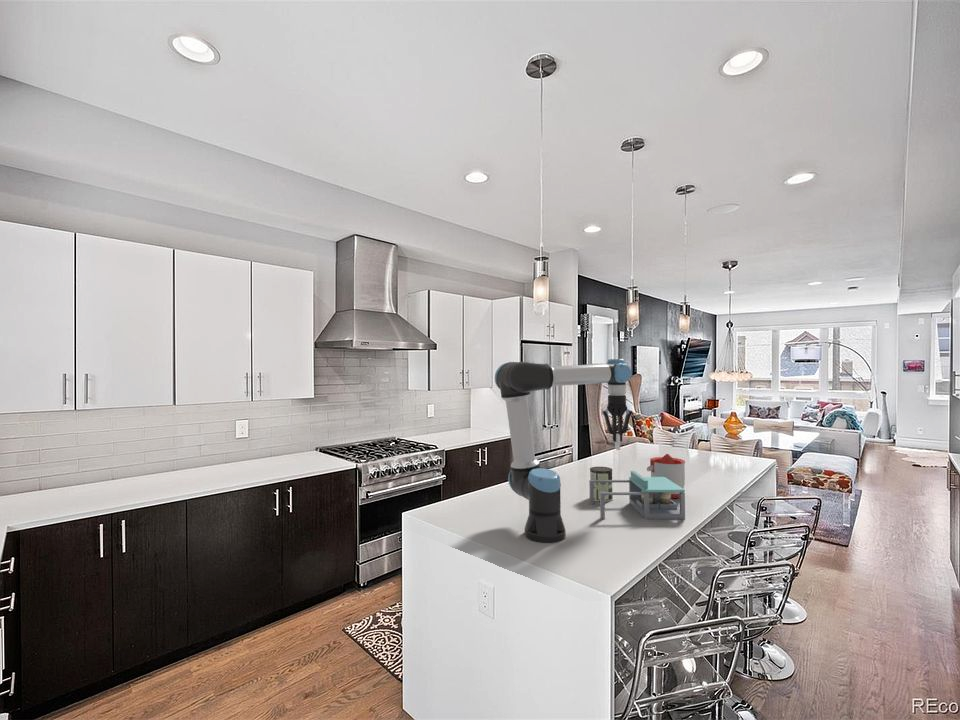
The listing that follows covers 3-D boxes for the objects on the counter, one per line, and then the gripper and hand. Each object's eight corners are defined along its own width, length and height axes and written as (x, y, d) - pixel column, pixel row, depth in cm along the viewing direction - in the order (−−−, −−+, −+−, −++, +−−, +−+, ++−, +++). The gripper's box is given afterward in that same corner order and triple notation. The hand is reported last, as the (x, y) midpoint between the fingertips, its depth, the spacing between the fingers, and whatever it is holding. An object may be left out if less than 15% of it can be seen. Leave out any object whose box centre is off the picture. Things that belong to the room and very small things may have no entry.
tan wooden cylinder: (672, 508, 198) (672, 489, 199) (661, 508, 199) (661, 489, 199) (668, 504, 203) (668, 486, 203) (658, 504, 203) (657, 486, 203)
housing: (685, 518, 191) (684, 492, 191) (601, 519, 191) (600, 493, 191) (664, 502, 213) (664, 479, 213) (589, 503, 213) (589, 480, 213)
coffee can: (603, 494, 227) (603, 465, 227) (617, 500, 217) (617, 469, 217) (585, 497, 223) (585, 467, 223) (598, 503, 213) (598, 472, 214)
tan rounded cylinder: (643, 508, 199) (643, 489, 199) (640, 505, 203) (640, 486, 203) (654, 508, 198) (654, 489, 199) (650, 505, 203) (650, 486, 203)
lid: (684, 492, 191) (684, 481, 191) (645, 492, 191) (645, 481, 191) (664, 479, 213) (664, 469, 213) (629, 479, 213) (628, 469, 213)
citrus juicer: (643, 490, 233) (642, 450, 233) (679, 491, 232) (678, 450, 232) (651, 499, 218) (651, 456, 218) (690, 500, 216) (689, 457, 216)
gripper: (629, 393, 206) (630, 447, 206) (599, 394, 207) (600, 447, 206) (634, 395, 199) (635, 450, 199) (603, 395, 199) (604, 450, 199)
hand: (617, 449), depth 202 cm, fingers closed
